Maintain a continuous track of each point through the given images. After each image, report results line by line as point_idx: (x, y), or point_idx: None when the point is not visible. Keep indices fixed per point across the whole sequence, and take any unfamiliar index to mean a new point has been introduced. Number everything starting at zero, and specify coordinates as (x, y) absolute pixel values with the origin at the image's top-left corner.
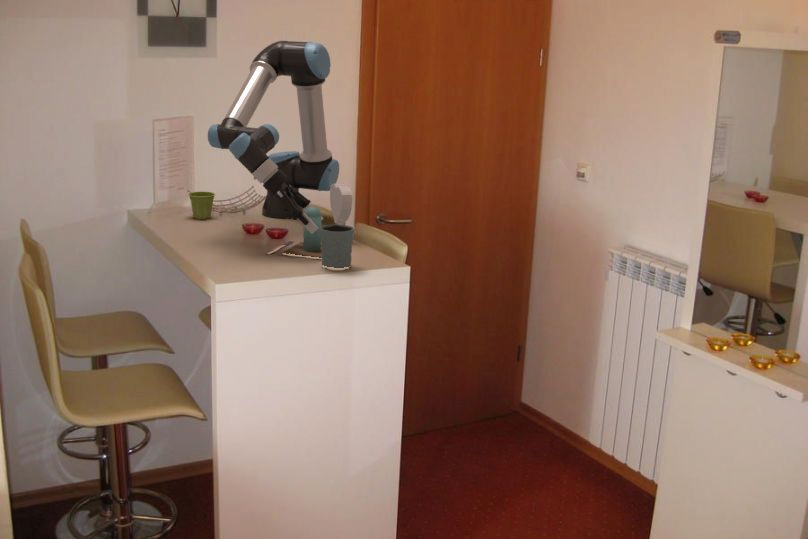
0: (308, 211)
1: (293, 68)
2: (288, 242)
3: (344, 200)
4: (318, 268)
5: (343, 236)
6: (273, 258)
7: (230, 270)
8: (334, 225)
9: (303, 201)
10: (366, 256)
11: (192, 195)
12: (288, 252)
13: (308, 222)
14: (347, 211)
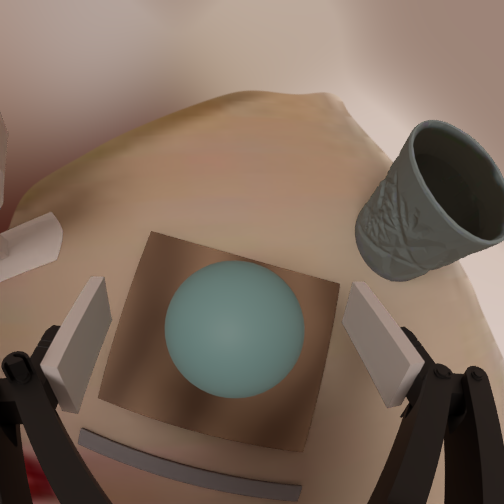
0: (294, 354)
1: None
2: (101, 447)
3: None
4: (421, 289)
5: (482, 169)
6: (347, 460)
7: None
8: (424, 184)
9: (59, 422)
10: (244, 156)
11: None
12: (293, 429)
13: (405, 328)
14: (5, 160)
